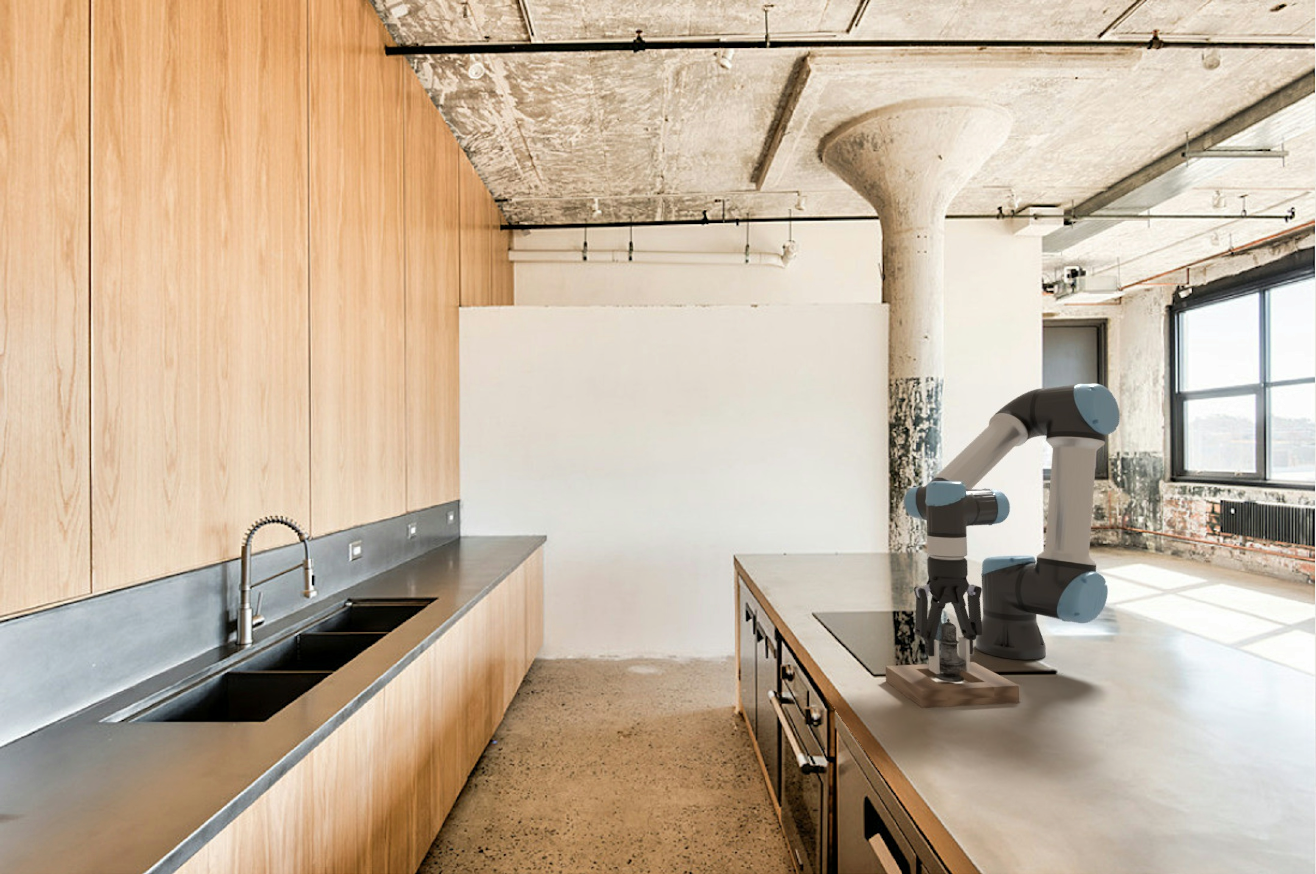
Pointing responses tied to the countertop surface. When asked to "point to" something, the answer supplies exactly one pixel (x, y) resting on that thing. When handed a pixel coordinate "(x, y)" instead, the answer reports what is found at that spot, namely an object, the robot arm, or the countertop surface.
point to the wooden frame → (952, 686)
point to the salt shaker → (949, 655)
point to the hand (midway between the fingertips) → (949, 670)
